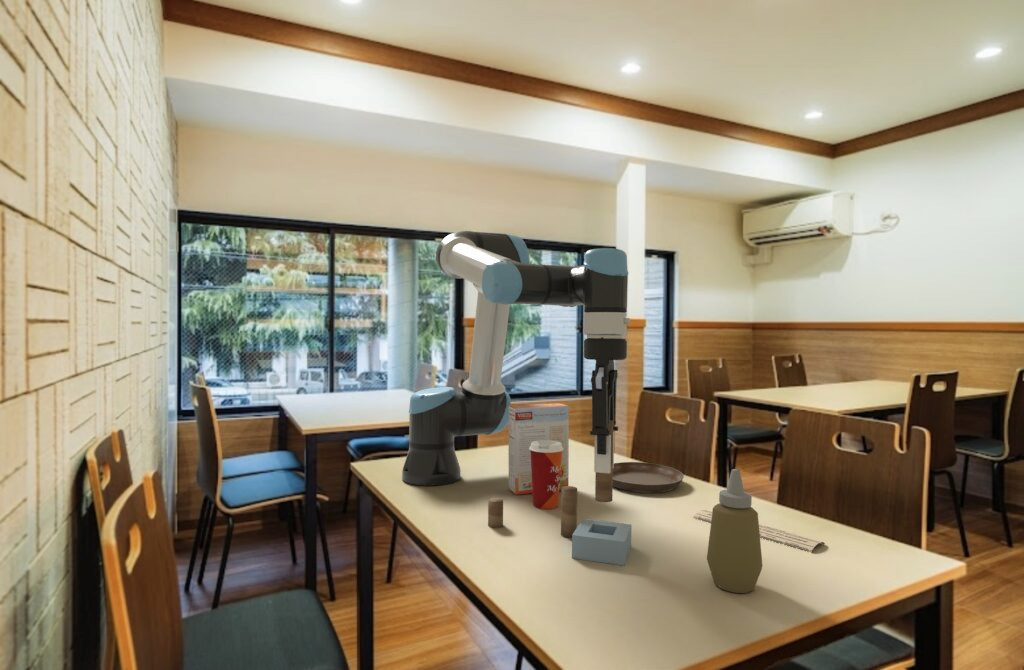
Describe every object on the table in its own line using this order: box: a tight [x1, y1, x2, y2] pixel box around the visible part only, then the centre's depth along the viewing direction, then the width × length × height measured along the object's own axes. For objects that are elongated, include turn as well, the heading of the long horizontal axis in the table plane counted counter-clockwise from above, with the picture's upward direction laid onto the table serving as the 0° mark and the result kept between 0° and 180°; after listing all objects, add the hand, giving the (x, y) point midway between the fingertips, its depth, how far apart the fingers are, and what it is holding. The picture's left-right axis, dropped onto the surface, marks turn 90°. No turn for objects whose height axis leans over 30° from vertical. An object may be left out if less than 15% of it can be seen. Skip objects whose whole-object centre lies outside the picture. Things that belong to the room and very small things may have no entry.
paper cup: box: [529, 440, 564, 510], centre depth 126 cm, size 8×8×14 cm
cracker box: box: [507, 402, 570, 496], centre depth 138 cm, size 14×6×21 cm, turn 108°
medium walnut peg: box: [560, 485, 578, 539], centre depth 108 cm, size 3×3×9 cm
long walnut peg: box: [594, 420, 614, 503], centre depth 100 cm, size 3×3×14 cm
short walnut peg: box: [487, 497, 504, 529], centre depth 113 cm, size 3×3×5 cm
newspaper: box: [693, 509, 826, 554], centre depth 112 cm, size 24×7×2 cm, turn 41°
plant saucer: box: [613, 461, 685, 494], centre depth 145 cm, size 21×21×3 cm
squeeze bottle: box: [706, 468, 763, 594], centre depth 88 cm, size 8×8×18 cm
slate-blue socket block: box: [571, 518, 632, 567], centre depth 100 cm, size 9×9×4 cm
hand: (604, 469), depth 100 cm, fingers closed on long walnut peg, 3 cm apart
